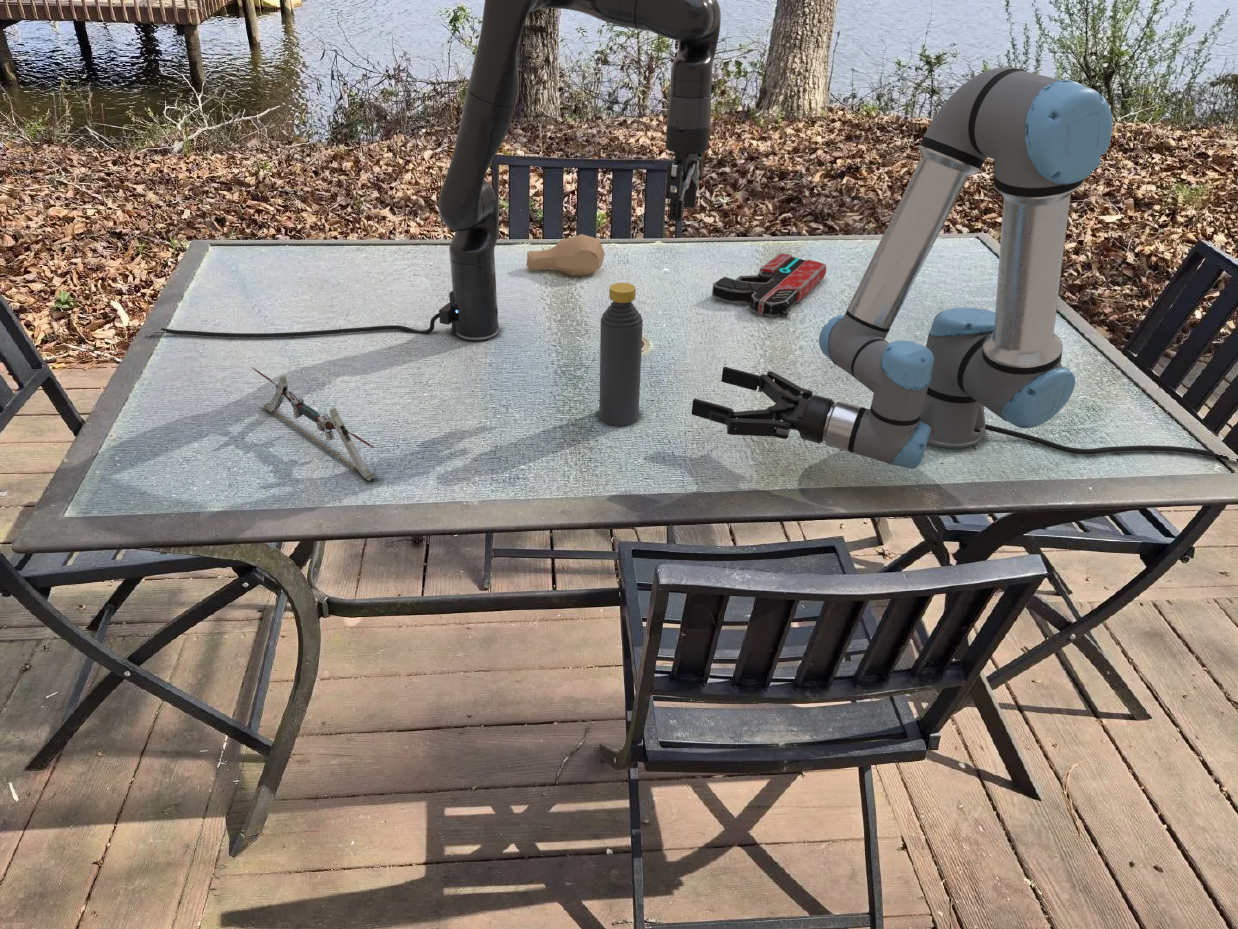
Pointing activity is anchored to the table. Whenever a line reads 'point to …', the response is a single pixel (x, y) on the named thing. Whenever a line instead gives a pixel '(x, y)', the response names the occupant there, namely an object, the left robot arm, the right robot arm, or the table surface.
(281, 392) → the bow
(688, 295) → the table surface
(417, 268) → the table surface
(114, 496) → the table surface
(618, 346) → the bottle
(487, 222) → the left robot arm
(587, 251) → the squash
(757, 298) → the gun
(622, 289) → the cap
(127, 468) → the table surface
